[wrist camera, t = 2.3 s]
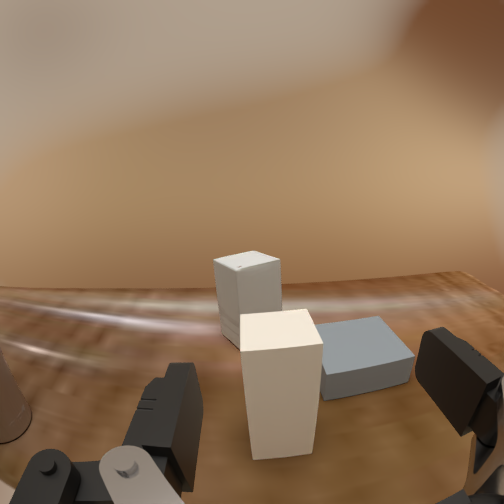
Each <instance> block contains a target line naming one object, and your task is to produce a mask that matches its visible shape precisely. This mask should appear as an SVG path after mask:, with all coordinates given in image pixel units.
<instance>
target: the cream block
mask: <svg viewBox="0 0 504 504" xmlns="http://www.w3.org/2000/svg"><path fill="white" fill-rule="evenodd" d="M240 353H241V363H242V372H243V381H244V391H245V399H246V408H247V417H248V425H249V434H250V442H251V450H252V458H253V460H259V459H271V458H281V457H290V456H298V455H305V454H311V453H312V450H313V443H314V436H315V428H316V420H317V411H318V402H319V392H320V381H321V369H322V356H323V342H322V339H321V337H320V335H319V333H318V331H317V329H316V327H315V325H314V323H313V321H312V319H311V317H310V315H309V313H308V311H307V309H299V310H289V311H278V312H266V313H252V314H240Z"/></svg>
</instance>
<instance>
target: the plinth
mask: <svg viewBox="0 0 504 504" xmlns="http://www.w3.org/2000/svg"><path fill="white" fill-rule="evenodd" d="M315 327H316V329H317V331H318V333H319V335H320V337H321V339H322V342H323V356H322V369H321V381H320V391H321V394H322V397H323V400H324V401H326V400H332V399H338V398H343V397H348V396H353V395H358V394H362V393H367V392H371V391H376V390H380V389H384V388H388V387H392V386H395V385H399V384H403V383H406V382H408V380H409V377H410V373H411V369H412V366H413V362H414V358H415V355H414V354H413V353H412V352H411V351H410V350H409V349H408V348H407V346H406V345H405V344H404V343H403V342H402V341H401V340H400V339H399V338H398V337H397V335H396V334H395V333H394V332H393V331H392V330H391V329H390V328H389V327H388V326H387V324H386V323H385V322H384V321H383V320H382V319H381V318H380V317H379V316H375V317H369V318H363V319H356V320H349V321H342V322H334V323H326V324H318V325H315Z"/></svg>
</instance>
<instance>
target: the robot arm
mask: <svg viewBox="0 0 504 504" xmlns="http://www.w3.org/2000/svg"><path fill="white" fill-rule="evenodd" d="M415 374H416V378H417V380H418V382H419V383H420V384H421V386H422V387H423V388H424V389H425V391H426V392H427V393H428V394H429V396H430V397H431V398H432V400H433V401H434V402H435V403H436V405H437V406H438V407H439V409H440V410H441V411H442V412H443V414H444V415H445V416H446V418H447V419H448V420H449V422H450V423H451V424H452V426H453V427H454V428H455V430H456V431H457V432H458V434H459V435H460V436H463V435H465V434H467V433H469V432H471V431H474V433H475V434H474V435H473V437H472V440H471V449H470V458H469V466H468V473H467V479H466V482H465V485H464V487H463V489H462V490H461V491H459V492H457V493H455V494H453V495H452V496H450V497H448V498H446V499H444V500H442V501H440V502H438V503H436V504H504V373H503V372H501V371H500V370H499V369H498V368H497V367H496V366H495V365H493V364H492V363H491V362H490V361H489V360H488V359H486V358H485V357H484V356H483V355H482V356H481V353H479V352H478V351H477V350H474V348H473V347H472V346H471V345H470V344H469V343H467V342H466V341H464V340H462V339H460V338H457V337H456V336H454V335H453V334H452V333H451V332H450V331H448V330H447V329H446V328H444V327H440V328H436V329H432V330H429V331H426V332H424V334H423V336H422V340H421V344H420V349H419V353H418V357H417V362H416V366H415ZM202 418H203V400H202V395H201V391H200V387H199V382H198V378H197V374H196V369H195V366H194V363H170V364H169V366H168V369H167V371H166V374H165V377H164V378H154V379H153V380H152V381H151V382H150V383H149V384H148V385H147V386H146V387H145V389H144V392H143V394H142V397H141V401H139V404H138V406H137V410H136V411H135V414H134V416H133V419H132V421H131V424H130V426H129V429H128V431H127V434H126V436H125V439H124V442H123V444H122V446H119V447H116V448H113V449H111V450H110V451H108V452H107V453H106V454H105V455H104V456H103V457H102V459H101V460H100V461H90V462H71V461H70V459H69V458H68V457H67V456H66V455H65V454H64V453H63V452H61V451H59V450H55V449H46V450H42V451H40V452H38V453H36V454H35V455H34V456H33V457H32V458H31V460H30V461H29V463H28V465H27V467H26V469H25V471H24V473H23V475H22V477H21V479H20V481H19V484H18V486H17V488H16V490H15V492H14V495H13V497H12V499H11V501H10V503H9V504H185V503H184V502H183V501H182V500H181V493H182V492H193V487H194V479H195V471H196V463H197V455H198V448H199V440H200V433H201V425H202ZM30 420H31V409H30V407H29V405H28V403H27V401H26V400H25V398H24V396H23V394H22V393H21V391H20V389H19V387H18V385H17V383H16V381H15V379H14V377H13V375H12V373H11V371H10V369H9V367H8V365H7V362H6V360H5V358H4V356H3V353H2V351H1V349H0V443H4V442H9V441H11V440H14V439H15V438H17V437H19V436H20V435H21V434H22V433H23V432H24V431H25V430H26V429H27V427H28V425H29V423H30Z"/></svg>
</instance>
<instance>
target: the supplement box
mask: <svg viewBox="0 0 504 504" xmlns="http://www.w3.org/2000/svg"><path fill="white" fill-rule="evenodd" d="M213 261H214V271H215V281H216V290H217V298H218V306H219V314H220V323H221V331H222V334H223V335H224V336H226V337H227V338H228V339H229V340H230V341H231V342H232V343H233V344H234V345H235V346H237V347H238V348H239V349H240V314H252V313H266V312H278V311H282V292H281V268H280V259H278V258H274V257H271V256H268V255H265V254H262V253H259V252H256V251H249V252H245V253H240V254H235V255H231V256H226V257H222V258H218V259H214V260H213Z"/></svg>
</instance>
